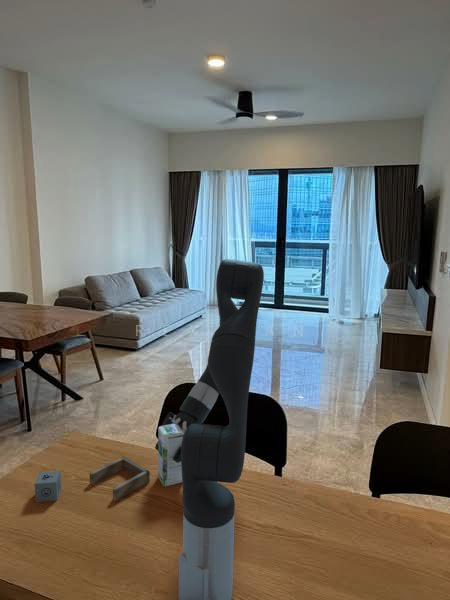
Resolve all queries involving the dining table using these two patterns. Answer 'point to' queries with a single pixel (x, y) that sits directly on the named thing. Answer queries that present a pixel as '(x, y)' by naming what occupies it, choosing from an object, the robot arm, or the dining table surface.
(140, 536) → the dining table surface
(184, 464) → the robot arm
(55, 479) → the dice cube
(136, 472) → the frame
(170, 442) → the syrup box
